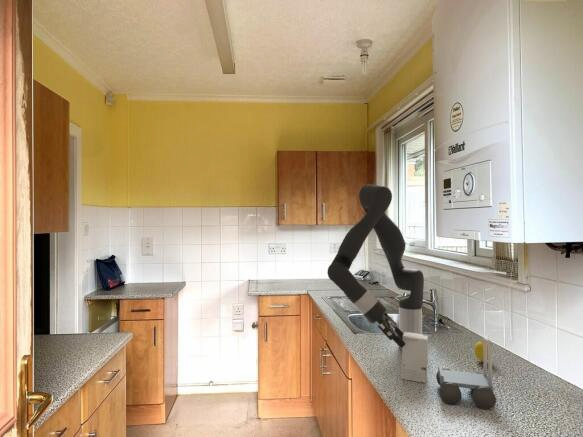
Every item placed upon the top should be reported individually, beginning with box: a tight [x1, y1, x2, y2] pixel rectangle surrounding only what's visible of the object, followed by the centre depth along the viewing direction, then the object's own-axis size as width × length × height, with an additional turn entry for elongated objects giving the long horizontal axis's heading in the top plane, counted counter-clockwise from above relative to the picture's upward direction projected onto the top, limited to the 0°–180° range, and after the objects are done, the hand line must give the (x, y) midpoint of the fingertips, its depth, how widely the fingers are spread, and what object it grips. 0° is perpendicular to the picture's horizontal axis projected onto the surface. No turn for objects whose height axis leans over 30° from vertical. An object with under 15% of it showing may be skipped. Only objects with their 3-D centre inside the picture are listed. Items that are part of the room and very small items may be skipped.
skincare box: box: [400, 332, 429, 384], centre depth 127 cm, size 8×6×15 cm
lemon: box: [474, 340, 488, 363], centre depth 141 cm, size 6×6×8 cm
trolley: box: [435, 335, 497, 410], centre depth 114 cm, size 12×15×18 cm
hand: (403, 341), depth 128 cm, fingers open, 8 cm apart
